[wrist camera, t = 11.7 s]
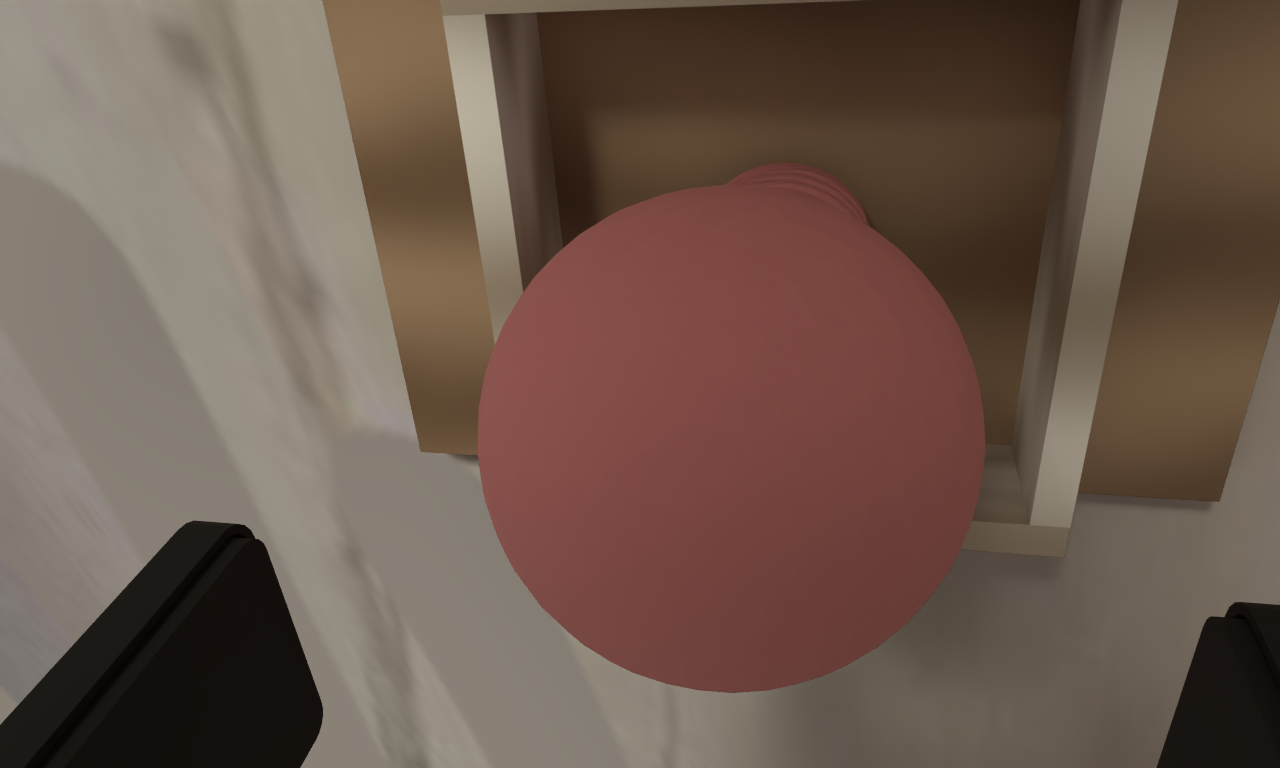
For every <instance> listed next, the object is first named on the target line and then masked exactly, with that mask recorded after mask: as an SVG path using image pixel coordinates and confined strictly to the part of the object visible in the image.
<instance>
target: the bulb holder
mask: <svg viewBox="0 0 1280 768" xmlns="http://www.w3.org/2000/svg"><path fill="white" fill-rule="evenodd" d="M322 1H323V5H324V10H325V14H326V19H327V24H328V28H329V33H330V37H331V42H332V47H333V51H334V56H335V60H336V65H337V70H338V74H339V79H340V83H341V88H342V92H343V97H344V102H345V106H346V111H347V115H348V120H349V125H350V129H351V134H352V138H353V143H354V148H355V152H356V157H357V161H358V166H359V170H360V175H361V180H362V184H363V189H364V193H365V198H366V203H367V207H368V212H369V216H370V221H371V226H372V230H373V235H374V239H375V244H376V249H377V253H378V258H379V262H380V267H381V271H382V276H383V281H384V285H385V290H386V294H387V299H388V304H389V308H390V313H391V317H392V322H393V327H394V331H395V336H396V340H397V345H398V350H399V354H400V359H401V363H402V368H403V372H404V377H405V382H406V386H407V391H408V395H409V400H410V405H411V409H412V414H413V418H414V423H415V428H416V432H417V437H418V441H419V446H420V450H421V452H432V453H448V454H464V455H478V413H479V404H480V399H481V393H482V388H483V382H484V377H485V372H486V369H487V366H488V363H489V360H490V357H491V354H492V351H493V349H494V346H495V344H496V342H497V339H498V337H499V334H500V332H501V330H502V327H503V325H504V323H505V321H506V320H507V318H508V316H509V315H510V313H511V311H512V310H513V308H514V306H515V305H516V303H517V301H518V300H519V298H520V297H521V295H522V294H523V292H524V291H525V290H526V288H527V287H528V285H529V284H530V283H531V281H532V280H533V278H534V277H535V276H536V275H537V274H538V273H539V272H540V271H541V269H542V268H543V267H544V266H545V265H546V264H547V263H548V262H549V261H550V260H551V259H552V258H553V257H554V256H555V255H556V254H557V253H558V252H559V251H560V250H562V249H563V248H564V247H565V246H566V245H568V244H569V243H570V242H571V241H572V240H574V239H575V238H576V237H577V236H578V235H580V234H581V233H583V232H584V231H586V230H587V229H589V228H591V227H592V226H594V225H595V224H597V223H599V222H600V221H602V220H603V219H605V218H607V217H608V216H610V215H612V214H614V213H616V212H618V211H619V210H621V209H624V208H626V207H629V206H632V205H635V204H637V203H640V202H643V201H646V200H648V199H651V198H654V197H657V196H660V195H662V194H667V193H671V192H676V191H680V190H684V189H689V188H697V187H707V186H717V185H726V184H727V183H728V182H730V181H731V180H733V179H734V178H736V177H737V176H739V175H740V174H742V173H744V172H746V171H749V170H752V169H754V168H757V167H760V166H762V165H768V164H773V163H798V164H805V165H809V166H812V167H816V168H819V169H821V170H823V171H825V172H826V173H828V174H830V175H832V176H834V177H835V178H837V179H838V180H839V181H840V182H841V183H843V184H844V185H845V186H846V187H847V188H848V189H849V190H850V191H851V192H852V194H853V195H854V196H855V197H856V199H857V200H858V202H859V203H860V205H861V206H862V208H863V209H864V212H865V214H866V217H867V220H868V223H869V226H870V227H871V228H872V229H874V230H876V231H877V232H878V233H879V234H881V235H882V236H883V237H885V238H886V239H887V240H888V241H890V242H891V243H892V244H894V245H895V246H896V247H897V248H898V249H899V250H901V251H902V252H903V253H904V254H905V255H906V256H907V257H908V258H909V259H910V260H911V261H912V262H913V263H914V264H915V265H916V266H917V267H918V268H919V269H920V270H921V272H922V273H923V274H924V275H925V276H926V278H927V279H928V280H929V281H930V283H931V284H932V285H933V286H934V288H935V289H936V290H937V291H938V293H939V294H940V295H941V296H942V298H943V300H944V301H945V303H946V305H947V307H948V308H949V310H950V312H951V314H952V315H953V317H954V319H955V321H956V322H957V324H958V326H959V328H960V331H961V333H962V336H963V338H964V341H965V344H966V346H967V349H968V351H969V354H970V356H971V359H972V361H973V364H974V367H975V371H976V374H977V378H978V382H979V387H980V394H981V400H982V407H983V414H984V431H985V448H986V451H985V458H984V465H983V472H982V479H981V485H980V492H979V497H978V500H977V504H976V507H975V511H974V514H973V518H972V522H971V525H970V529H969V531H968V533H967V536H966V538H965V540H964V543H963V545H962V547H961V549H960V550H972V551H986V552H999V553H1012V554H1025V555H1039V556H1052V557H1065V552H1066V547H1067V542H1068V537H1069V532H1070V528H1071V523H1072V518H1073V513H1074V508H1075V503H1076V498H1077V493H1089V494H1105V495H1121V496H1137V497H1153V498H1169V499H1185V500H1201V501H1217V502H1219V501H1220V498H1221V494H1222V491H1223V488H1224V484H1225V481H1226V478H1227V474H1228V471H1229V468H1230V464H1231V461H1232V458H1233V454H1234V451H1235V448H1236V444H1237V441H1238V437H1239V434H1240V431H1241V427H1242V424H1243V421H1244V417H1245V414H1246V411H1247V407H1248V404H1249V401H1250V397H1251V394H1252V391H1253V387H1254V384H1255V381H1256V377H1257V374H1258V371H1259V367H1260V364H1261V360H1262V357H1263V354H1264V350H1265V347H1266V344H1267V340H1268V337H1269V334H1270V330H1271V327H1272V324H1273V320H1274V317H1275V314H1276V310H1277V307H1278V304H1279V300H1280V0H322Z"/></svg>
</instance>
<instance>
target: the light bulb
mask: <svg viewBox="0 0 1280 768" xmlns="http://www.w3.org/2000/svg"><path fill="white" fill-rule="evenodd" d="M985 451H986V448H985V431H984V414H983V407H982V400H981V394H980V387H979V382H978V378H977V374H976V371H975V367H974V364H973V361H972V359H971V356H970V354H969V351H968V349H967V346H966V344H965V341H964V338H963V336H962V333H961V331H960V328H959V326H958V324H957V322H956V321H955V319H954V317H953V315H952V314H951V312H950V310H949V308H948V307H947V305H946V303H945V301H944V300H943V298H942V296H941V295H940V294H939V293H938V291H937V290H936V289H935V288H934V286H933V285H932V284H931V283H930V281H929V280H928V279H927V278H926V276H925V275H924V274H923V273H922V272H921V270H920V269H919V268H918V267H917V266H916V265H915V264H914V263H913V262H912V261H911V260H910V259H909V258H908V257H907V256H906V255H905V254H904V253H903V252H902V251H901V250H899V249H898V248H897V247H896V246H895V245H894V244H892V243H891V242H890V241H888V240H887V239H886V238H885V237H883V236H882V235H881V234H879V233H878V232H877V231H876V230H874V229H872V228H871V227H870V226H869V223H868V220H867V217H866V214H865V212H864V209H863V208H862V206H861V205H860V203H859V202H858V200H857V199H856V197H855V196H854V195H853V194H852V192H851V191H850V190H849V189H848V188H847V187H846V186H845V185H844V184H843V183H841V182H840V181H839V180H838V179H837V178H835V177H834V176H832V175H830V174H828V173H826V172H825V171H823V170H821V169H819V168H816V167H812V166H809V165H805V164H798V163H773V164H768V165H762V166H760V167H757V168H754V169H752V170H749V171H746V172H744V173H742V174H740V175H739V176H737V177H736V178H734V179H733V180H731V181H730V182H728V183H727V184H726V185H717V186H707V187H697V188H689V189H684V190H680V191H676V192H671V193H667V194H662V195H660V196H657V197H654V198H651V199H648V200H646V201H643V202H640V203H637V204H635V205H632V206H629V207H626V208H624V209H621V210H619V211H618V212H616V213H614V214H612V215H610V216H608V217H607V218H605V219H603V220H602V221H600V222H599V223H597V224H595V225H594V226H592V227H591V228H589V229H587V230H586V231H584V232H583V233H581V234H580V235H578V236H577V237H576V238H575V239H574V240H572V241H571V242H570V243H569V244H568V245H566V246H565V247H564V248H563V249H562V250H560V251H559V252H558V253H557V254H556V255H555V256H554V257H553V258H552V259H551V260H550V261H549V262H548V263H547V264H546V265H545V266H544V267H543V268H542V269H541V271H540V272H539V273H538V274H537V275H536V276H535V277H534V278H533V280H532V281H531V283H530V284H529V285H528V287H527V288H526V290H525V291H524V292H523V294H522V295H521V297H520V298H519V300H518V301H517V303H516V305H515V306H514V308H513V310H512V311H511V313H510V315H509V316H508V318H507V320H506V321H505V323H504V325H503V327H502V330H501V332H500V334H499V337H498V339H497V342H496V344H495V346H494V349H493V351H492V354H491V357H490V360H489V363H488V366H487V369H486V372H485V377H484V382H483V388H482V393H481V399H480V404H479V413H478V460H479V466H480V473H481V480H482V487H483V492H484V497H485V501H486V504H487V508H488V511H489V513H490V516H491V520H492V522H493V525H494V529H495V531H496V533H497V536H498V538H499V541H500V543H501V545H502V547H503V549H504V551H505V554H506V556H507V557H508V559H509V561H510V563H511V565H512V567H513V568H514V570H515V572H516V573H517V574H518V576H519V577H520V579H521V580H522V581H523V583H524V584H525V585H526V587H527V588H528V589H529V591H530V592H531V593H532V595H533V596H534V597H535V599H536V600H537V602H538V603H539V604H540V605H541V607H542V608H543V609H544V610H545V611H546V612H548V613H549V614H550V615H551V616H552V617H553V618H554V619H555V620H556V621H557V622H558V623H559V624H560V625H561V626H563V627H564V628H565V629H566V630H567V631H568V632H569V633H570V634H571V635H573V636H574V637H575V638H576V639H577V640H579V641H580V642H581V643H582V644H583V645H585V646H587V647H588V648H590V649H591V650H593V651H595V652H596V653H598V654H599V655H601V656H603V657H604V658H606V659H607V660H609V661H610V662H612V663H615V664H617V665H619V666H621V667H623V668H625V669H627V670H629V671H631V672H633V673H636V674H639V675H642V676H645V677H648V678H651V679H654V680H657V681H660V682H663V683H666V684H670V685H675V686H680V687H685V688H690V689H695V690H704V691H717V692H729V693H737V692H750V691H763V690H771V689H776V688H781V687H785V686H790V685H794V684H798V683H801V682H804V681H808V680H811V679H815V678H818V677H821V676H824V675H826V674H828V673H830V672H833V671H835V670H837V669H839V668H842V667H844V666H846V665H848V664H850V663H851V662H853V661H855V660H856V659H858V658H860V657H861V656H863V655H865V654H867V653H868V652H870V651H872V650H873V649H875V648H877V647H878V646H879V645H881V644H882V643H883V642H884V641H885V640H887V639H888V638H889V637H890V636H891V635H893V634H894V633H895V632H896V631H898V630H899V629H900V628H901V627H902V626H904V625H905V624H906V623H907V622H908V621H909V620H910V619H911V618H912V617H913V616H914V615H915V614H916V613H917V611H918V610H919V609H920V608H921V607H922V606H923V605H924V604H925V602H926V601H927V600H928V599H929V598H930V596H931V595H932V594H933V592H934V591H935V590H936V588H937V587H938V585H939V584H940V583H941V581H942V580H943V579H944V577H945V576H946V574H947V573H948V572H949V570H950V568H951V566H952V564H953V562H954V560H955V558H956V557H957V555H958V553H959V551H960V549H961V547H962V545H963V543H964V540H965V538H966V536H967V533H968V531H969V529H970V525H971V522H972V518H973V514H974V511H975V507H976V504H977V500H978V497H979V492H980V485H981V479H982V472H983V465H984V458H985Z"/></svg>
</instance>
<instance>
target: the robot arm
mask: <svg viewBox="0 0 1280 768" xmlns="http://www.w3.org/2000/svg"><path fill="white" fill-rule="evenodd" d="M322 718H323V707H322V703H321V699H320V696H319V693H318V691H317V688H316V685H315V682H314V680H313V677H312V674H311V671H310V669H309V666H308V663H307V660H306V657H305V654H304V652H303V649H302V646H301V643H300V641H299V638H298V635H297V632H296V629H295V627H294V624H293V621H292V619H291V616H290V613H289V610H288V607H287V604H286V602H285V599H284V596H283V593H282V590H281V588H280V585H279V582H278V579H277V577H276V574H275V571H274V568H273V565H272V563H271V560H270V557H269V555H268V551H267V549H266V547H265V545H264V543H263V542H262V541H260V540H259V539H255V537H254V535H253V533H252V532H251V530H250V529H249V528H248V527H246V526H245V525H240V524H230V523H217V522H204V521H192V522H189V523H186V524H185V525H184V526H183V527H181V528H180V529H179V530H178V531H177V532H176V533H175V534H174V535H173V536H172V537H171V538H170V539H169V541H168V542H167V543H166V544H165V545H164V546H163V547H162V548H161V550H159V552H158V553H157V554H156V555H155V556H154V557H153V558H152V559H151V560H150V561H149V562H148V564H147V565H146V566H145V567H144V568H143V569H142V570H141V571H140V572H139V573H138V575H137V576H136V577H135V578H134V579H133V580H132V581H131V582H130V583H129V584H128V586H127V587H126V588H125V589H124V590H123V591H122V592H121V593H120V594H119V595H118V596H117V598H116V599H115V600H114V601H113V602H112V603H111V604H110V605H109V606H108V607H107V609H106V610H105V611H104V612H103V613H102V614H101V615H100V616H99V617H98V618H97V619H96V621H95V622H94V623H93V624H92V625H91V626H90V627H89V628H88V629H87V630H86V632H85V633H84V634H83V635H82V636H81V637H80V638H79V639H78V640H77V641H76V642H75V644H74V645H73V646H72V647H71V648H70V649H69V650H68V651H67V652H66V653H65V655H64V656H63V657H62V658H61V659H60V660H59V661H58V662H57V663H56V664H55V666H54V667H53V668H52V669H51V670H50V671H49V672H48V673H47V674H46V675H45V676H44V678H43V679H42V680H41V681H40V682H39V683H38V684H37V685H36V686H35V687H34V689H33V690H32V691H31V692H30V693H29V694H28V695H27V696H26V697H25V698H24V699H23V701H22V702H21V703H20V704H19V705H18V706H17V707H16V708H15V709H14V711H13V712H12V713H11V714H10V715H9V716H8V717H7V718H6V719H5V720H4V721H3V723H2V724H1V725H0V768H300V767H301V765H302V763H303V762H304V760H305V758H306V756H307V755H308V753H309V751H310V749H311V748H312V746H313V744H314V742H315V741H316V739H317V736H318V734H319V732H320V728H321V724H322ZM1157 768H1280V605H1271V604H1258V603H1245V602H1235V603H1234V604H1233V605H1231V606H1230V607H1229V609H1228V611H1227V613H1226V615H1225V617H1209V618H1208V619H1207V620H1206V622H1205V624H1204V626H1203V629H1202V632H1201V635H1200V638H1199V641H1198V644H1197V647H1196V650H1195V653H1194V656H1193V659H1192V662H1191V665H1190V668H1189V671H1188V674H1187V677H1186V680H1185V683H1184V686H1183V689H1182V692H1181V696H1180V699H1179V702H1178V705H1177V708H1176V711H1175V714H1174V717H1173V720H1172V723H1171V726H1170V729H1169V732H1168V735H1167V738H1166V741H1165V744H1164V747H1163V750H1162V753H1161V756H1160V759H1159V762H1158V765H1157Z"/></svg>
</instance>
